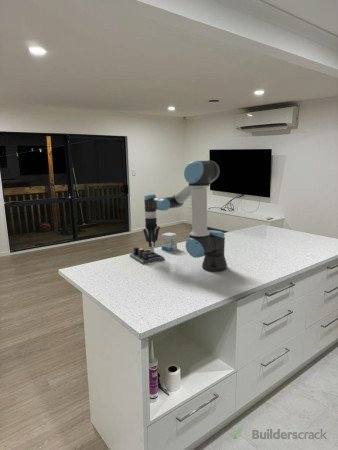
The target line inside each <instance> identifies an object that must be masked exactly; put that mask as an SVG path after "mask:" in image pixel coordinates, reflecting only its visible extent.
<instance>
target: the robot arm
mask: <svg viewBox="0 0 338 450" xmlns="http://www.w3.org/2000/svg"><path fill="white" fill-rule="evenodd" d="M220 173H221V171H220V167H219V164H217V163H216V162H215V161H214V160H193V161H191V162H189V163H188V164H187V165H186V166H185V168H184V171H183V177H184V179H185V182H187V184H185V185H184V186H183V187H182V188H181V189H180V190H179V191H177V192H175V194H173V196H168V197H167V196H166V197H157V196H156V194H155V193H147V194H145V195H144V199H143V200H144V218H145V219H144V221H145V225H144V226H145V227H143V228H141V230H142V232H143V234H144V238H145V241H146V242H147V243H148V247H149V250H150V251H151V252H155V246H156V242H157V241H158V237H159V233H160V232H159V231H160V230H161V226H158V224H157V221H158V220H157V210H158V211H161V212H163V211H164V212H166V211H169V209H175V208H176V209H177V208H180V207H182V206H184V203H185V202H186V201H187V200H188V199H189V198H190V199H191V232H189V238H188V239H187V240H186V241H185V250H186V252H187V254H189V255H190V257H192V258H196V259H197V258H202V257H204V258H203V261H202V266H201V267H202V269H203V270H205V271H207V272H208V271H209V272H217V273H218V272H223V271H226V270H227V269H228V264H227V260H226V256H225V244H226V243H225V240H226V237H225V236H226V235H225V232H223V231H220V230H215V229H214V230H212V229H208V188H209V187H210V186H211V184H212V183H214V181H215V180H217V179H218V178H219V176H220Z"/></svg>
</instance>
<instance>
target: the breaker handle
mask: <svg viewBox="0 0 338 450" xmlns="http://www.w3.org/2000/svg"><path fill="white" fill-rule="evenodd" d="M144 250H145V249H144V248H139V249H138V256H139V257H143V256H142V252H144Z"/></svg>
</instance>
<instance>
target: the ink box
mask: <svg viewBox="0 0 338 450" xmlns="http://www.w3.org/2000/svg"><path fill="white" fill-rule="evenodd" d="M177 249H178V234H177V233H174V232H165V233H162V234H161V250H162V251H163V250H164V251H169V252H172V251H174V250H177Z"/></svg>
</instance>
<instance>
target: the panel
mask: <svg viewBox="0 0 338 450" xmlns="http://www.w3.org/2000/svg"><path fill="white" fill-rule="evenodd" d="M138 249H140V248H139V247H138V246H135V247H132V250H133V251H132V252H131V253H130V254H129V257H130V258H131V259H133V260H135V261H136V262H138V263H140V264H141V265H147V264H151V263H156V262H157V263H158V262H161V261H165V260H166V259H165V257H164V256H163V255H161V254H158V253H157V252H155V251H154V252H151V251H150V249H144V252H142V256H143V257H139V256H138Z"/></svg>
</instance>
